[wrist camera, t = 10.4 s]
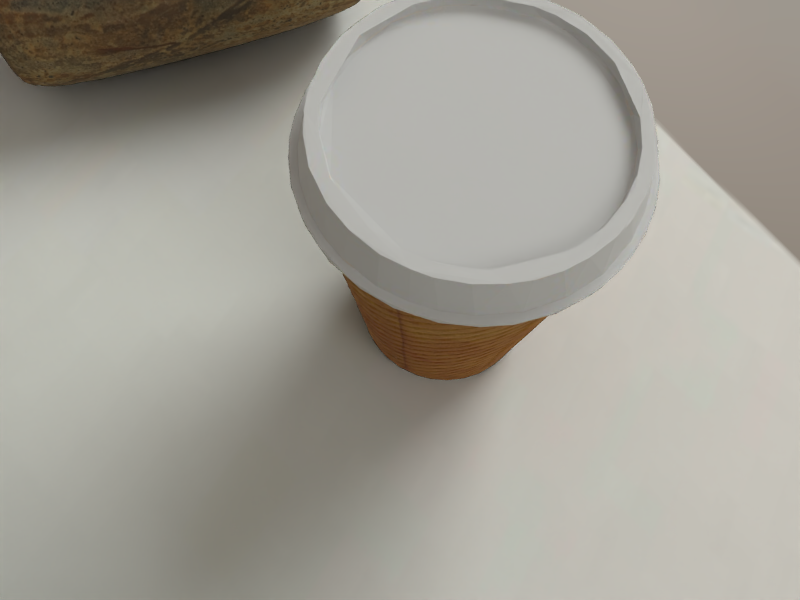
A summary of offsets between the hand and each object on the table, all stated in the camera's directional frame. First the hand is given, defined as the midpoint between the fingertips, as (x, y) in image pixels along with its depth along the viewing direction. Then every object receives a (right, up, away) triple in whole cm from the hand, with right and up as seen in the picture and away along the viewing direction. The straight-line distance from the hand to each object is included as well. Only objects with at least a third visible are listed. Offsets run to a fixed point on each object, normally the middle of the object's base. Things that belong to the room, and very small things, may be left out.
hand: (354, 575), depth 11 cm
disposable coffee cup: (+2, +4, +18) cm, 18 cm away
